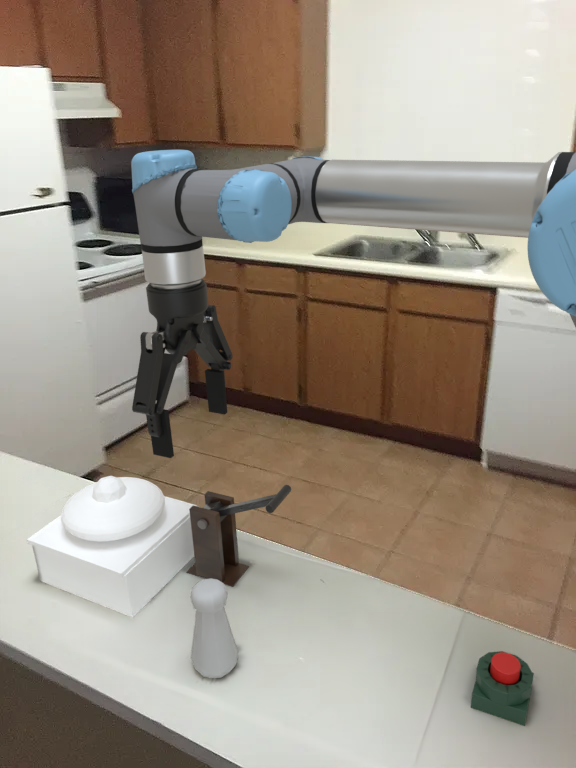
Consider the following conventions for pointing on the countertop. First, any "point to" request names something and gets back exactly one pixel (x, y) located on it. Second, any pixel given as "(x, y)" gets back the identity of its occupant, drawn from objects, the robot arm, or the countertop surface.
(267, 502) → the lever
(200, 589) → the salt shaker
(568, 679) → the countertop surface
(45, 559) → the white lidded container
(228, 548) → the bracket
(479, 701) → the button box
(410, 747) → the countertop surface
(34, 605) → the countertop surface
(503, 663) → the button
